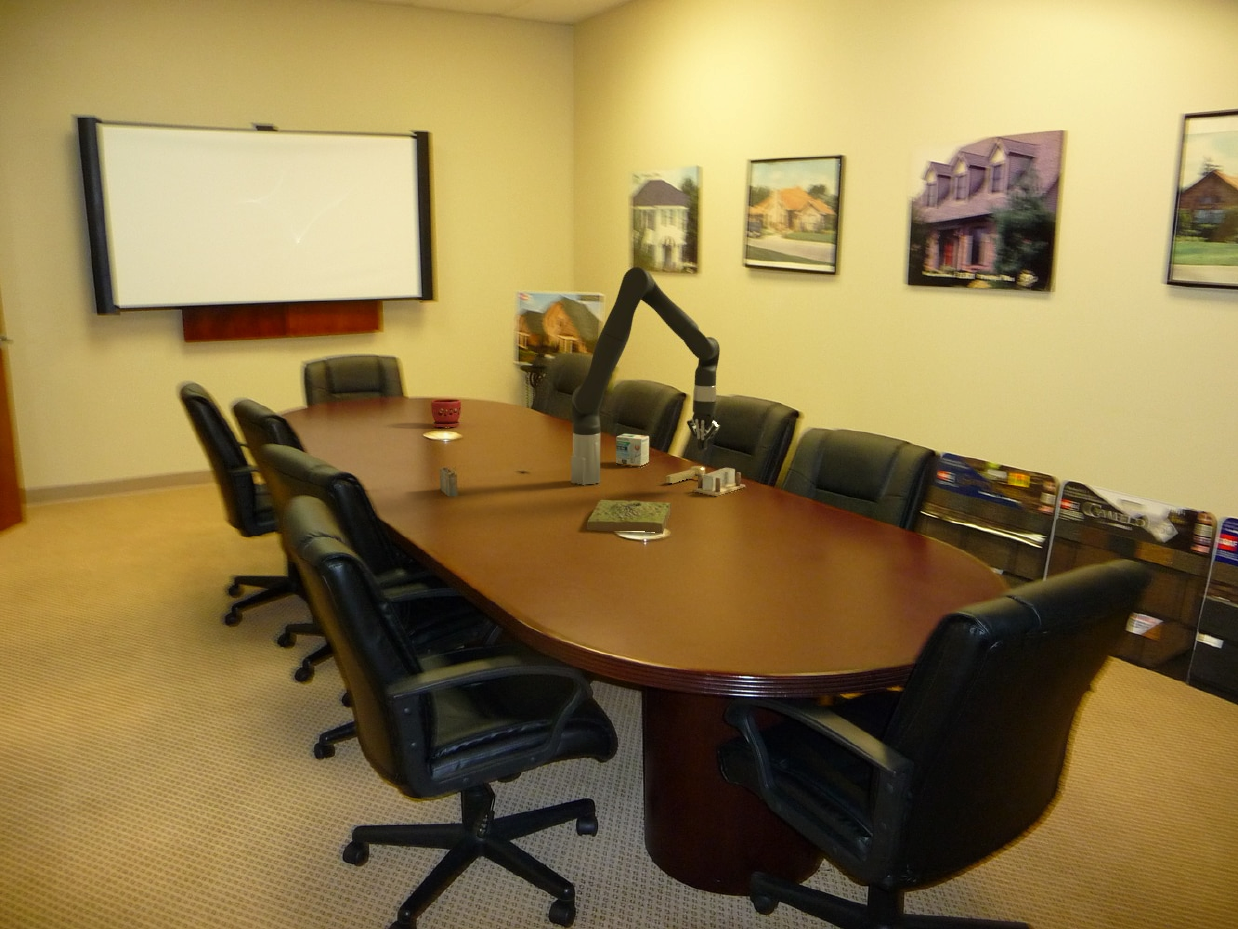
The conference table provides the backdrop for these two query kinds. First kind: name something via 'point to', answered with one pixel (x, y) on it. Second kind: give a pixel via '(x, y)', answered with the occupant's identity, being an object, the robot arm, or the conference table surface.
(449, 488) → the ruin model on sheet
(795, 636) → the conference table surface
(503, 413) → the conference table surface
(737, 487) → the peg rack
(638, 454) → the light bulb box
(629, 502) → the miniature landscape model
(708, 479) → the grey rectangular block
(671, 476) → the beige long bar
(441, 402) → the plant pot
